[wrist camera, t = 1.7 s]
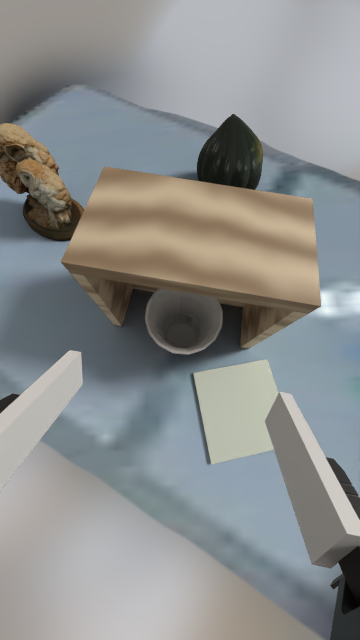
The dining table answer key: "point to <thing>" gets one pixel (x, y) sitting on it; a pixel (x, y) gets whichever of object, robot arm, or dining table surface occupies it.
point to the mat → (236, 409)
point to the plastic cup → (183, 320)
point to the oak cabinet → (197, 248)
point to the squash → (231, 156)
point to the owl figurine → (37, 184)
